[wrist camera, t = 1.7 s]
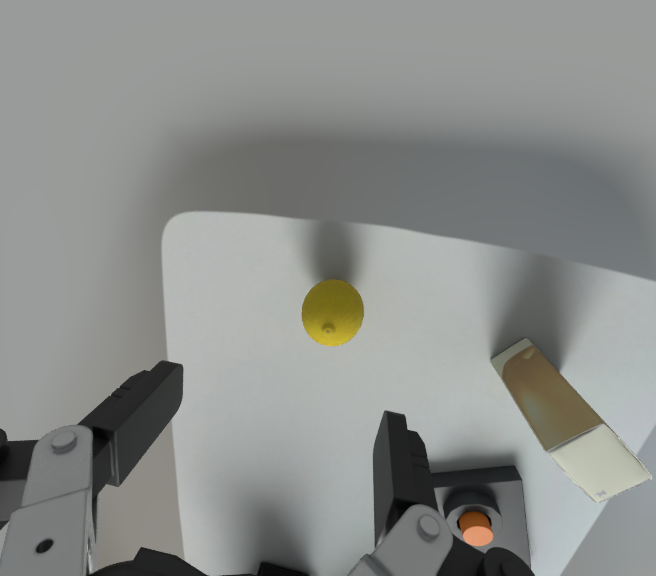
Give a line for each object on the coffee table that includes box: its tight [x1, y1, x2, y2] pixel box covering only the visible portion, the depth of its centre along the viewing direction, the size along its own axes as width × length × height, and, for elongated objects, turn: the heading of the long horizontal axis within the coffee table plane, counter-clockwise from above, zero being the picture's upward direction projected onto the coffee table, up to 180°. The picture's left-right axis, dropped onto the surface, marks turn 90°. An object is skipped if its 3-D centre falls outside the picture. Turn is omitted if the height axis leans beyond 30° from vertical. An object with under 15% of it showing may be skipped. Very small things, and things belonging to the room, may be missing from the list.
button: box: [459, 511, 493, 546], centre depth 37 cm, size 3×3×2 cm
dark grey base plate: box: [431, 466, 531, 569], centre depth 41 cm, size 12×18×4 cm, turn 15°
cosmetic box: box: [491, 338, 653, 504], centre depth 28 cm, size 6×4×12 cm
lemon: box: [302, 279, 364, 346], centre depth 30 cm, size 6×6×8 cm
